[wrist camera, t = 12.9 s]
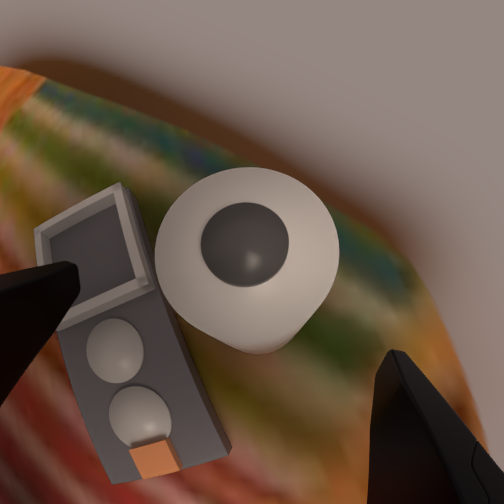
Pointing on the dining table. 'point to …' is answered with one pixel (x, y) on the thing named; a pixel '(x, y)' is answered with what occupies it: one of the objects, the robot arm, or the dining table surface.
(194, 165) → the dining table surface
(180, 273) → the cream cylinder
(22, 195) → the dining table surface
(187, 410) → the power strip
